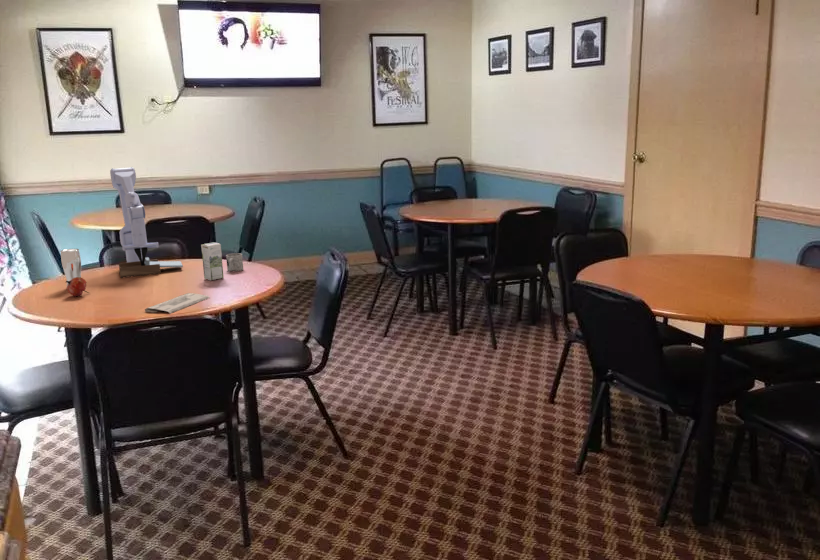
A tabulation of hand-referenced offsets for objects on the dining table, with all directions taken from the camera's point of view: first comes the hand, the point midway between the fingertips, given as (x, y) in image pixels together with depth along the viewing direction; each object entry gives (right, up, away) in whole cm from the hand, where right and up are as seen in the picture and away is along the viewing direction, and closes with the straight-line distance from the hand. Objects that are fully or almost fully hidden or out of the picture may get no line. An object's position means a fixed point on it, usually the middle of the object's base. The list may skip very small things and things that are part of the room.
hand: (142, 265), depth 306 cm
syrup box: (+36, -6, -18) cm, 40 cm away
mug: (+40, -3, -3) cm, 40 cm away
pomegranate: (-10, -12, -37) cm, 40 cm away
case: (-1, -3, 0) cm, 3 cm away
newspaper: (+33, -16, -57) cm, 68 cm away
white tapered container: (-18, -9, -23) cm, 31 cm away
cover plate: (+8, 0, +3) cm, 8 cm away
